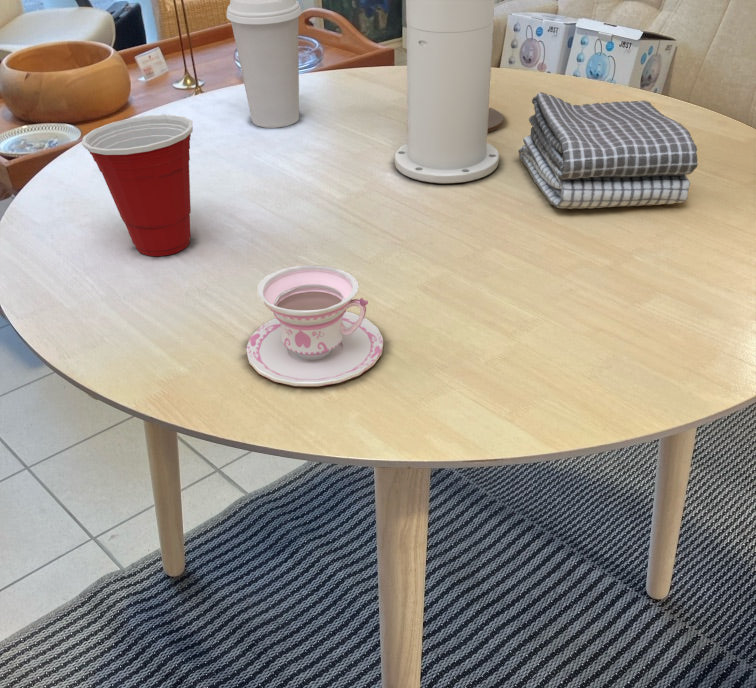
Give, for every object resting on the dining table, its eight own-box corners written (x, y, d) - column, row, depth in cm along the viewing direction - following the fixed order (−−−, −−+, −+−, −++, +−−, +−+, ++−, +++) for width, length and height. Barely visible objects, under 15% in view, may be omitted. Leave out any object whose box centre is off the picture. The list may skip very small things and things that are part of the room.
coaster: (416, 115, 117) (416, 111, 116) (483, 104, 119) (483, 100, 119) (445, 140, 110) (446, 135, 109) (516, 128, 112) (516, 123, 112)
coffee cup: (307, 131, 114) (297, 3, 103) (236, 133, 114) (218, 6, 104) (312, 106, 121) (303, -16, 110) (245, 108, 121) (229, -13, 111)
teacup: (227, 381, 72) (215, 316, 68) (271, 308, 80) (263, 247, 76) (365, 396, 70) (362, 330, 65) (396, 320, 78) (395, 257, 74)
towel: (556, 220, 92) (564, 146, 87) (516, 155, 105) (521, 88, 100) (692, 209, 93) (709, 135, 88) (636, 146, 106) (647, 79, 101)
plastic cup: (175, 212, 96) (152, 100, 88) (233, 241, 91) (215, 124, 82) (90, 245, 91) (58, 129, 83) (147, 279, 85) (118, 157, 77)
